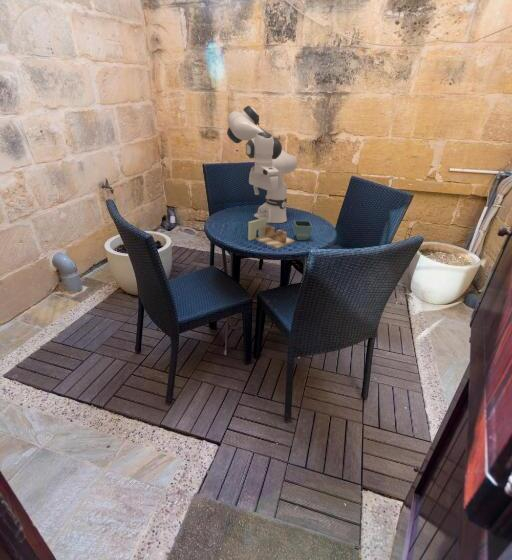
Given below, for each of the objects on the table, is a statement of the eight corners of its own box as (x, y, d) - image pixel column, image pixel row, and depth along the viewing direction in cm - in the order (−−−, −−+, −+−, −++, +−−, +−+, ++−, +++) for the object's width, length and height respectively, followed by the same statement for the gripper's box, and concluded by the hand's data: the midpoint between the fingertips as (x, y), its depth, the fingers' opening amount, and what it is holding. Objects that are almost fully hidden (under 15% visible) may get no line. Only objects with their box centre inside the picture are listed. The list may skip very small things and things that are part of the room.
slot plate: (247, 239, 174) (248, 221, 169) (263, 234, 181) (264, 217, 176) (250, 240, 173) (250, 222, 168) (265, 235, 180) (266, 218, 175)
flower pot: (307, 235, 181) (309, 220, 177) (310, 241, 174) (312, 226, 169) (292, 235, 181) (293, 220, 177) (294, 241, 173) (296, 226, 169)
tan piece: (255, 239, 174) (256, 227, 170) (273, 233, 182) (274, 222, 179) (276, 249, 164) (277, 236, 161) (294, 242, 173) (295, 230, 169)
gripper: (246, 165, 163) (245, 192, 170) (270, 172, 149) (269, 202, 156) (256, 165, 166) (255, 191, 173) (281, 171, 152) (279, 200, 159)
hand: (262, 196), depth 164 cm, fingers open, 8 cm apart
